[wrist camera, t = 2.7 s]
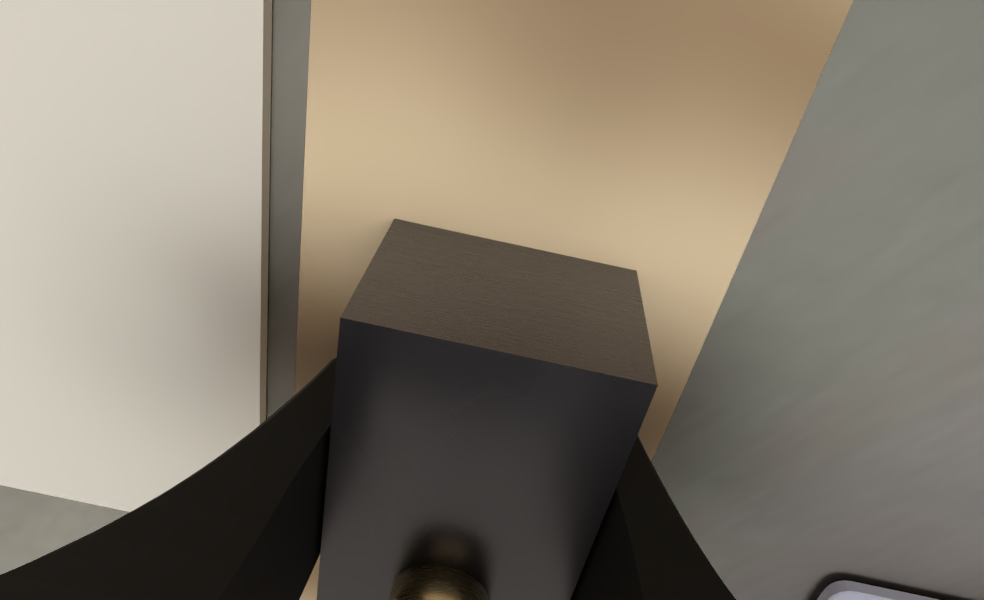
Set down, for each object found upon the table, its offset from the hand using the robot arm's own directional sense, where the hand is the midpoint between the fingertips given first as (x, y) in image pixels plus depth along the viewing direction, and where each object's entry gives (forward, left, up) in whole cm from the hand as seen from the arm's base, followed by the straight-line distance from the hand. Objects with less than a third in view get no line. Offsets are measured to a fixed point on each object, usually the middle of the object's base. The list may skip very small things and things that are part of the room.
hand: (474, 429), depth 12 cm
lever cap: (0, 0, -1) cm, 1 cm away
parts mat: (0, +10, -3) cm, 10 cm away
